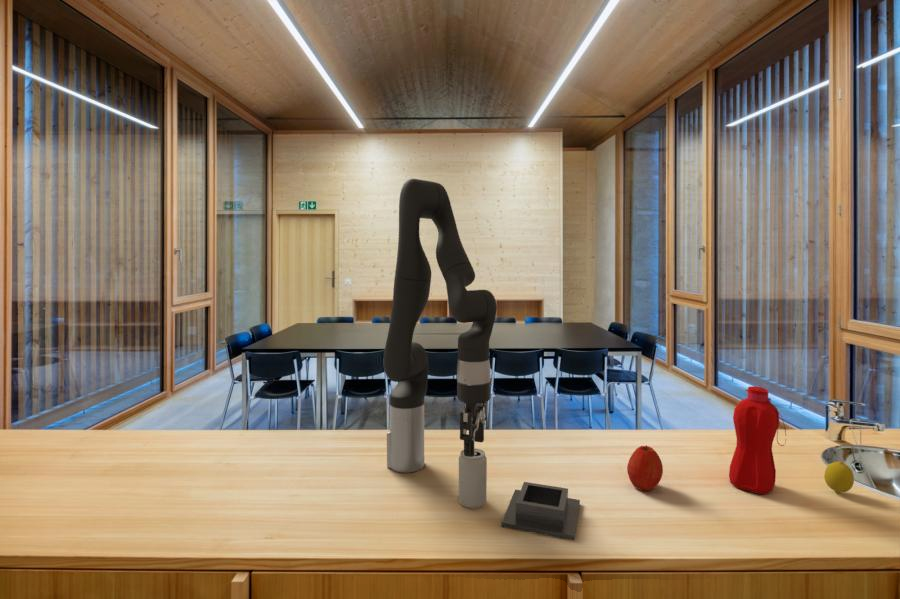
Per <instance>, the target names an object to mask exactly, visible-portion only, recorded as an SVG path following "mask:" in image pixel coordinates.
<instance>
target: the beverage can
mask: <svg viewBox="0 0 900 599" xmlns="http://www.w3.org/2000/svg"><path fill="white" fill-rule="evenodd" d="M487 459H488V458H487V457H486V452H485V451H484V450H483V449H479V448H475V447H474V456H473V457H468V456H465V455H464V449H463V450H461V451H460V455H459V456H458V501H459V503H460V504H461V505H462V506H463V507H464V508H468V509H477V508H478V509H479V508H481V507H483V506H485V504H486V503H487V484H488V483H487V480H488V479H487V477H488V476H487V472H488V471H487V466H488V464H487V462H488V461H487Z"/></svg>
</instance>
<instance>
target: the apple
mask: <svg viewBox="0 0 900 599" xmlns="http://www.w3.org/2000/svg"><path fill="white" fill-rule="evenodd" d="M628 459H629V460H628V463H627V467H626V469H627V471H626V472H627V476H628V479H629V480H630V482H631V484H632V486H633V487H634V488H636V489H638V490H640V491H644V492H645V491H651V490H654V489H655V488H656V487H657V486H658V485H659V483H660V482H661V480H662V477H663V474H664V467H663V462H662V460H661V458H660V456H659V454H658V453H657V452H656V450H655V449H654V448H653V447H651V446H649V445H641V446H638V447H637V448H636V449H635V450H634V451H633V452H632V454H631V455H630V457H629V458H628Z"/></svg>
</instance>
